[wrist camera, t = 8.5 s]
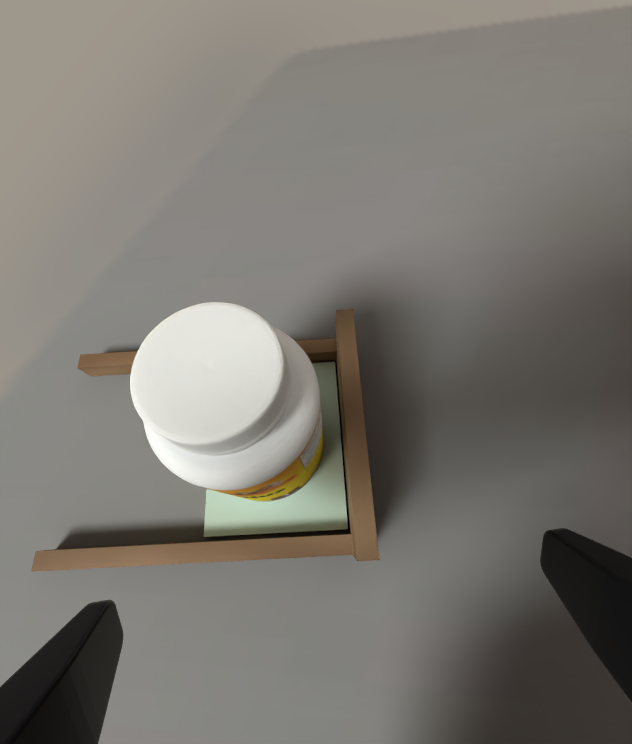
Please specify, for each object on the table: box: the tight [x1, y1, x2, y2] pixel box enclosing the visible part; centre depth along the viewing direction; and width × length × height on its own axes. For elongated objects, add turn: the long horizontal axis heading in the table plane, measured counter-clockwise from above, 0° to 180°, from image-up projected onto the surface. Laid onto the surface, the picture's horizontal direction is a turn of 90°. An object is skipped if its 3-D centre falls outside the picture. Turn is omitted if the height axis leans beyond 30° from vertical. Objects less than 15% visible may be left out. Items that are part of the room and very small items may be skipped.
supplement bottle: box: [130, 302, 324, 502], centre depth 14 cm, size 6×6×10 cm
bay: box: [31, 309, 379, 571], centre depth 17 cm, size 11×15×4 cm
